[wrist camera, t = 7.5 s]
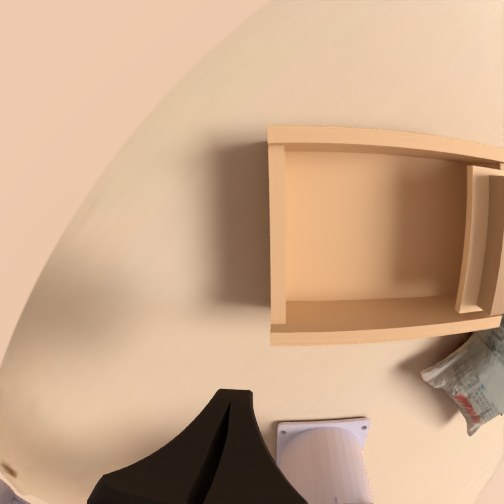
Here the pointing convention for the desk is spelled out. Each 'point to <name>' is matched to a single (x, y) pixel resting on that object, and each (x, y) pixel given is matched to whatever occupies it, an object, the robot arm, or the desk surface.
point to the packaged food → (474, 376)
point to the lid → (483, 244)
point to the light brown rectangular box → (368, 234)
